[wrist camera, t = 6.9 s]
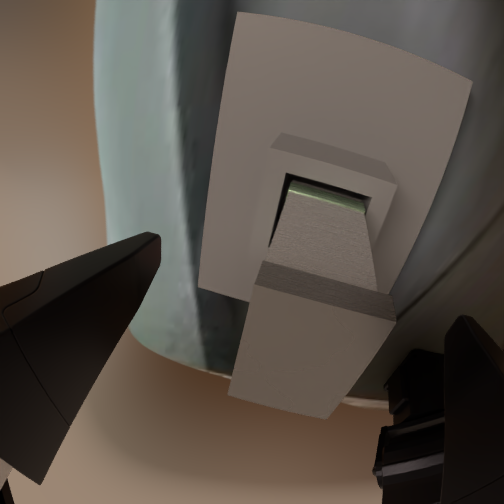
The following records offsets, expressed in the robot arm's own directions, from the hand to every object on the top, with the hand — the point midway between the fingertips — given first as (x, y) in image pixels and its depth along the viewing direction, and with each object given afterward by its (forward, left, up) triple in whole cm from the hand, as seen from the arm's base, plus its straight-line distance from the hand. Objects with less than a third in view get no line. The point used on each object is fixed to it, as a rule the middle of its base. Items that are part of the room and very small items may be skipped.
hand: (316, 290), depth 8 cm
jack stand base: (0, +2, -13) cm, 13 cm away
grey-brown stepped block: (0, +2, -8) cm, 8 cm away
